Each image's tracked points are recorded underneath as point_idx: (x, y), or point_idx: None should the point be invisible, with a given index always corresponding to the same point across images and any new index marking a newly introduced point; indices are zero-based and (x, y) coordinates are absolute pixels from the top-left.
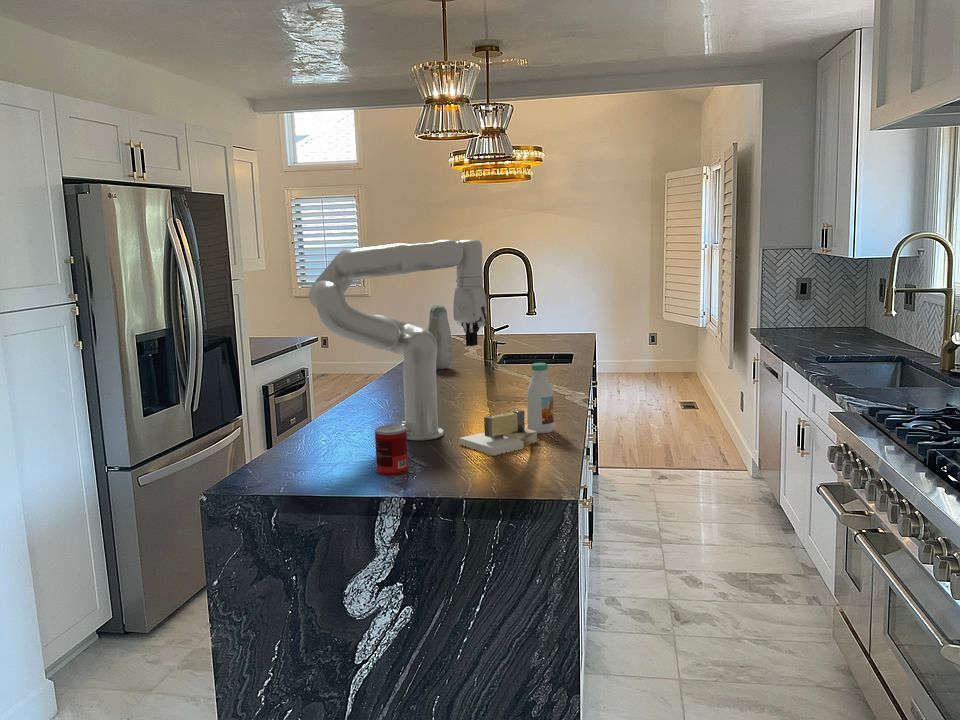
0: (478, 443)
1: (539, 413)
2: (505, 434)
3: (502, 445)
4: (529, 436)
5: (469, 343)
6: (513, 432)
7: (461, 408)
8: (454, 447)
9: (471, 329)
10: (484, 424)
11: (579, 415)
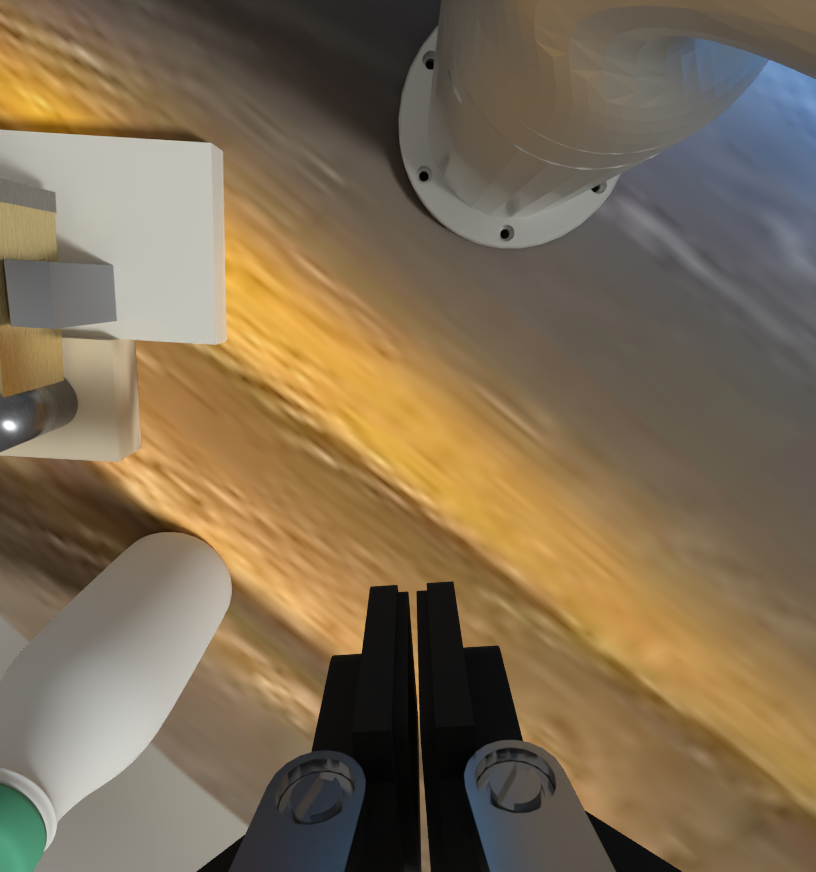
0: (49, 137)
1: (84, 588)
2: (82, 337)
3: None
4: None
5: (370, 601)
6: None
7: (785, 629)
8: (201, 98)
9: (282, 819)
10: (13, 182)
11: None
